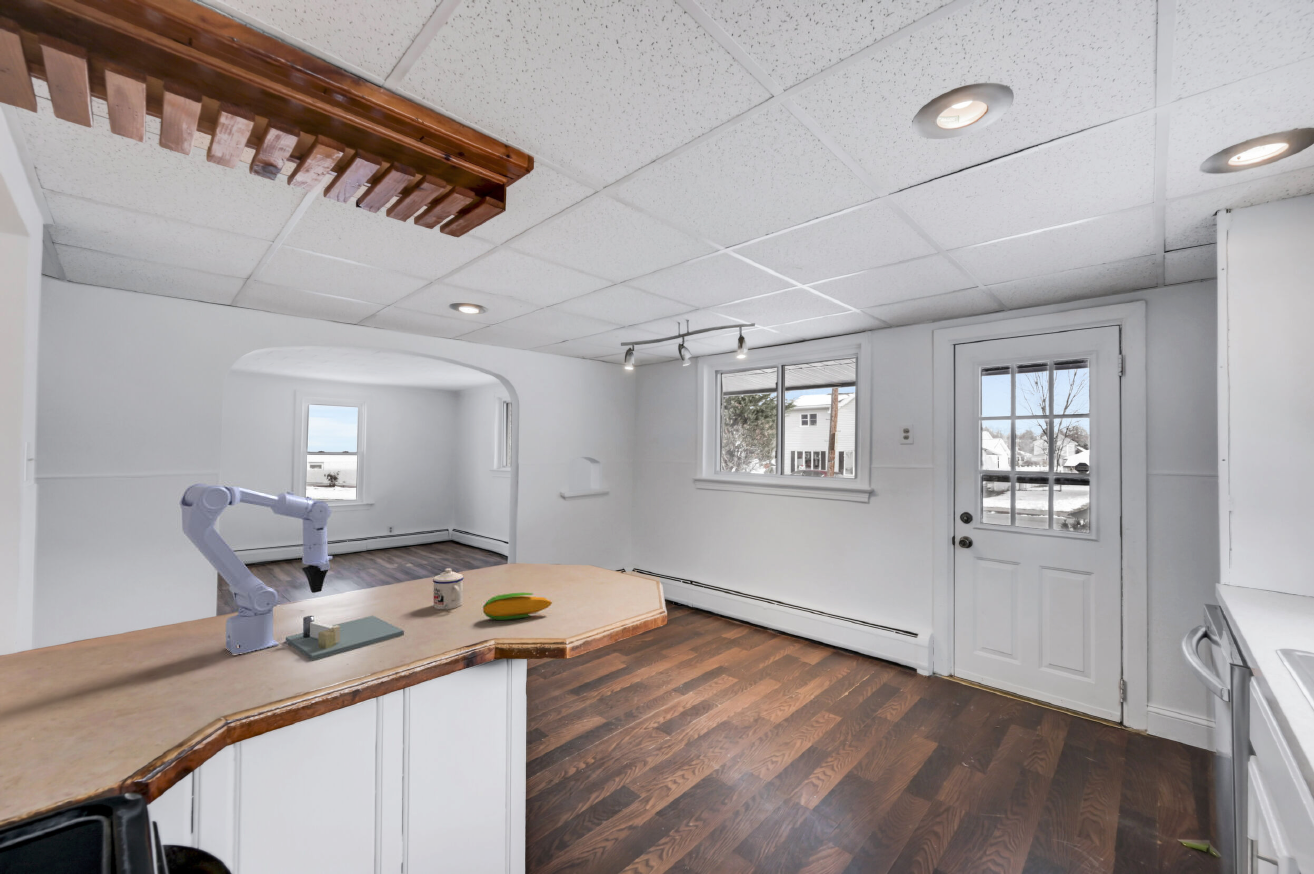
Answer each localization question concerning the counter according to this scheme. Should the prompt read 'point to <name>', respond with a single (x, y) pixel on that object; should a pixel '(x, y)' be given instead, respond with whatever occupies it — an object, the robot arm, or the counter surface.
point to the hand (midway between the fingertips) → (316, 591)
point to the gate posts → (324, 638)
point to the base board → (347, 637)
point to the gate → (320, 627)
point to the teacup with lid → (448, 590)
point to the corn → (514, 606)
